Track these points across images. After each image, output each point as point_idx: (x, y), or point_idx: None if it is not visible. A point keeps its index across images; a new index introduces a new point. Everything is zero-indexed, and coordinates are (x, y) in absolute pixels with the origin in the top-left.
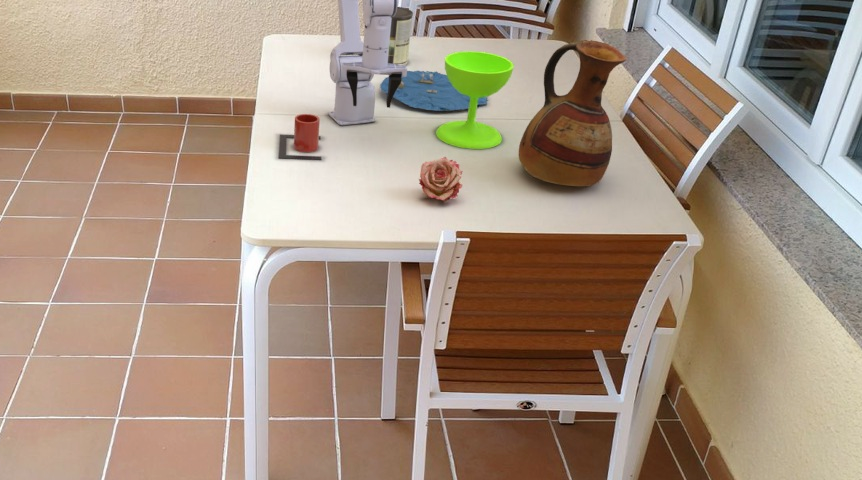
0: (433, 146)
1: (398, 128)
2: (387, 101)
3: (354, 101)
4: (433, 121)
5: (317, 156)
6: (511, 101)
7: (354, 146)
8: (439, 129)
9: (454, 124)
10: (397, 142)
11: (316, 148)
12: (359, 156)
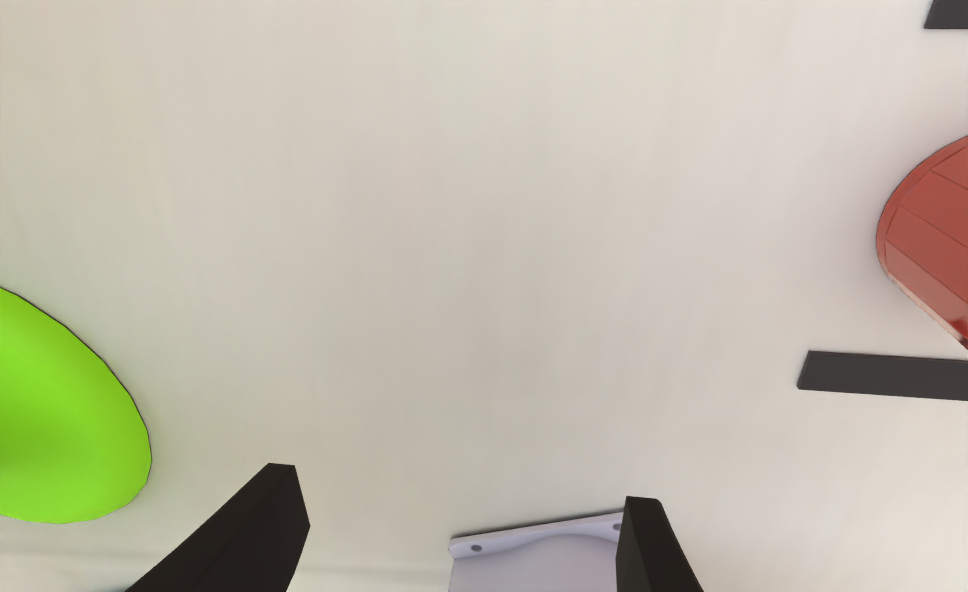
0: (118, 285)
1: (333, 481)
2: (267, 526)
3: (665, 541)
4: None
5: (966, 25)
6: None
7: (594, 261)
8: (116, 445)
9: (67, 492)
10: (323, 328)
11: (923, 173)
12: (582, 86)
